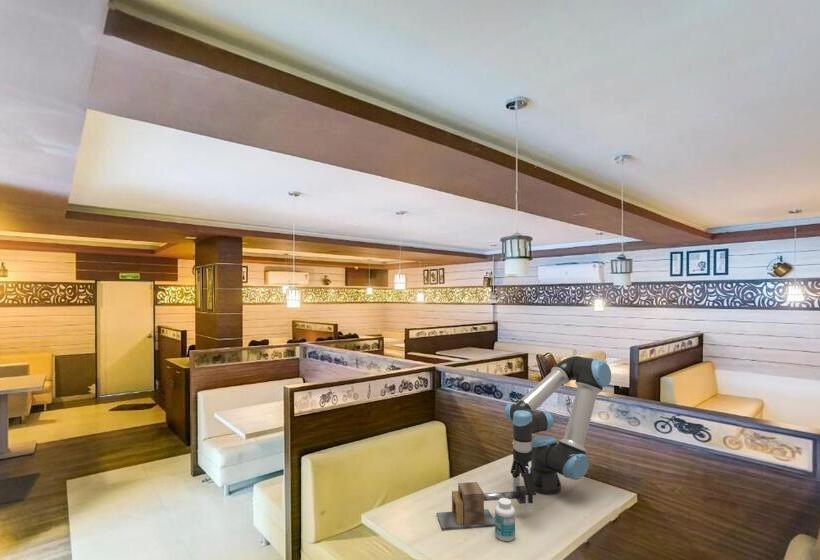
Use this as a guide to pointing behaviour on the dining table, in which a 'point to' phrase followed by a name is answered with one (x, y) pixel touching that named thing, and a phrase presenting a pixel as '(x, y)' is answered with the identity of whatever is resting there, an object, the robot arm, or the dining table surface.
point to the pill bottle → (505, 520)
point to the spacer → (457, 507)
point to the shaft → (508, 495)
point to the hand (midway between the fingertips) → (522, 501)
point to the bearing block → (468, 510)
